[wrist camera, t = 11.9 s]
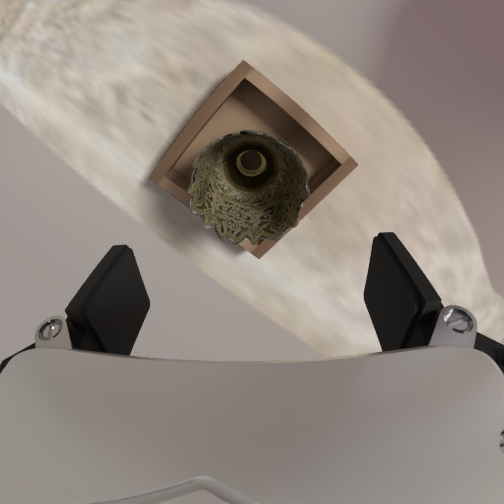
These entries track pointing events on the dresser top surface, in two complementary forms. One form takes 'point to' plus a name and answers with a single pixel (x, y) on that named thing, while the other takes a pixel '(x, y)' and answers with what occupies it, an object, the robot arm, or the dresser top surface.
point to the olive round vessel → (248, 187)
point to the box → (261, 119)
